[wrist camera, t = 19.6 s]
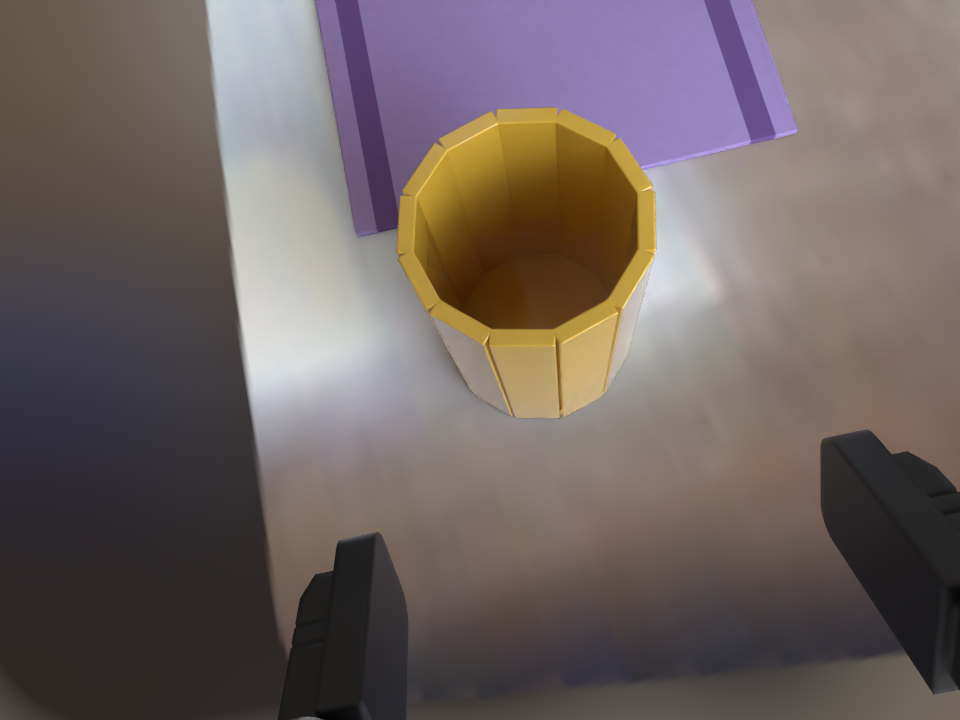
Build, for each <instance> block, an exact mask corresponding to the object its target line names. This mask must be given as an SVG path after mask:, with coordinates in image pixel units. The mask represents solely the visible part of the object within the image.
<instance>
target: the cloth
mask: <svg viewBox="0 0 960 720" xmlns="http://www.w3.org/2000/svg"><path fill="white" fill-rule="evenodd" d="M315 2H316V8H317V13H318V19H319V25H320V31H321V36H322V42H323V48H324V54H325V59H326V65H327V71H328V77H329V82H330V88H331V94H332V100H333V106H334V111H335V117H336V123H337V129H338V134H339V140H340V146H341V152H342V157H343V163H344V169H345V175H346V181H347V186H348V192H349V198H350V204H351V209H352V215H353V221H354V227H355V232H356V235H357V237H360V236H365V235H369V234H373V233H377V232H381V231H386V230H390V229H394V228H398V217H399V201H400V196H402V195H403V192H402V190H403V188H404V187H405V185H406V184H407V182H408V181H409V179H410V178H411V176H412V175H413V173H414V172H415V171H416V169H417V168H418V166H419V165H420V163H421V162H422V160H423V159H424V157H425V156H426V154H427V153H428V151H429V150H430V148H431V147H432V145H433V144H434V143H437V144H439V145H440V143H439V138H441V137H443V136H445V135H447V134H448V133H450V132H452V131H454V130H456V129H458V128H460V127H461V126H463V125H465V124H467V123H469V122H471V121H473V120H474V119H476V118H478V117H480V116H482V115H484V114H486V113H487V112H489V111H492V112H493V113H494V114H495V116H496V110H497V109H511V108H543V107H557V108H558V114H559V112H560V111H561V109H565V110H567V111H570V112H572V113H574V114H576V115H578V116H580V117H582V118H584V119H586V120H588V121H590V122H592V123H594V124H597V125H599V126H601V127H603V128H605V129H607V130H609V131H611V132H613V133H615V134H616V139H618V138H621V139H622V141H623V142H624V144H625V145H626V147H627V148H628V149H629V151H630V152H631V154H632V155H633V157H634V158H635V160H636V161H637V163H638V164H639V166H640V167H641V169H642V170H643V169H647V168H652V167H656V166H660V165H664V164H669V163H673V162H677V161H681V160H685V159H690V158H694V157H698V156H702V155H707V154H711V153H715V152H719V151H723V150H728V149H732V148H736V147H740V146H745V145H749V144H753V143H757V142H761V141H766V140H770V139H774V138H778V137H783V136H787V135H791V134H795V133H796V132H797V130H798V128H797V125H796V123H795V120H794V117H793V114H792V111H791V108H790V106H789V103H788V100H787V97H786V94H785V92H784V89H783V86H782V83H781V80H780V78H779V75H778V72H777V69H776V66H775V63H774V61H773V58H772V55H771V52H770V49H769V47H768V44H767V41H766V38H765V35H764V33H763V30H762V27H761V24H760V21H759V18H758V16H757V13H756V10H755V7H754V4H753V2H752V0H315Z"/></svg>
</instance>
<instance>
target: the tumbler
mask: <svg viewBox="0 0 960 720" xmlns="http://www.w3.org/2000/svg"><path fill="white" fill-rule="evenodd" d="M439 143H440V145H439V144H437V143H434V144H433V145H432V147H431V148H430V150H429V151H428V153H427V154H426V156H425V157H424V159H423V160H422V162H421V163H420V165H419V166H418V168H417V169H416V171H415V172H414V173H413V175H412V176H411V178H410V179H409V181H408V182H407V184H406V185H405V187H404V188H403V190H402V192H403V195H402V196H400V201H399V217H398V232H397V248H396V253H397V255H398V261H399V263H400V265H401V266H402V268H403V270H404V272H405V274H406V276H407V277H408V279H409V281H410V283H411V285H412V287H413V288H414V290H415V292H416V294H417V296H418V298H419V299H420V301H421V303H422V305H423V307H424V309H425V310H426V312H427V314H428V316H429V318H430V319H431V321H432V323H433V325H434V326H435V328H436V330H437V332H438V333H439V335H440V337H441V339H442V341H443V342H444V344H445V346H446V348H447V349H448V351H449V353H450V355H451V356H452V358H453V360H454V362H455V364H456V365H457V367H458V369H459V371H460V372H461V374H462V376H463V378H464V380H465V381H466V383H467V385H468V387H469V388H470V390H471V391H472V392H473V393H474V394H475V395H476V396H477V397H479V398H481V399H482V400H484V401H486V402H487V403H489V404H491V405H492V406H494V407H496V408H497V409H499V410H501V411H503V412H504V413H506V414H508V415H509V416H513V414H514V415H515V417H516V418H560V415H562V416H563V417H565V416H567V415H569V414H571V413H573V412H574V411H576V410H578V409H580V408H582V407H583V406H585V405H587V404H589V403H591V402H593V401H594V400H596V399H598V398H600V397H602V395H603V393H606V391H607V390H608V388H609V386H610V385H611V383H612V381H613V380H614V378H615V376H616V375H617V373H618V371H619V370H620V368H621V366H622V365H623V363H624V361H625V360H626V358H627V355H628V352H629V348H630V344H631V341H632V337H633V333H634V330H635V326H636V322H637V319H638V315H639V311H640V308H641V304H642V300H643V297H644V293H645V289H646V286H647V282H648V278H649V275H650V271H651V267H652V264H653V260H654V256H655V252H656V212H655V192H654V191H652V188H653V185H652V183H651V182H650V181H649V179H648V178H647V176H646V175H645V173H644V172H643V170H642V169H641V167H640V166H639V164H638V163H637V161H636V160H635V158H634V157H633V155H632V154H631V152H630V151H629V149H628V148H627V147H626V145H625V144H624V142H623V141H622V139H621V138H618V139H616V134H615V133H613V132H611V131H609V130H607V129H605V128H603V127H601V126H599V125H597V124H594V123H592V122H590V121H588V120H586V119H584V118H582V117H580V116H578V115H576V114H574V113H572V112H570V111H567V110H565V109H561V111H560V112H559V114H558V108H557V107H543V108H511V109H497V110H496V116H495V114H494V113H493V112H492V111H489V112H487V113H486V114H484V115H482V116H480V117H478V118H476V119H474V120H473V121H471V122H469V123H467V124H465V125H463V126H461V127H460V128H458V129H456V130H454V131H452V132H450V133H448V134H447V135H445V136H443V137H441V138H439Z"/></svg>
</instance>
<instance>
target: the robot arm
mask: <svg viewBox="0 0 960 720" xmlns="http://www.w3.org/2000/svg"><path fill="white" fill-rule="evenodd" d="M821 509H822V515H823V519H824V522H825V525H826V528H827V530H828V533H829V535H830V537H831V538H832V540H833V542H834V543H835V545H836V546H837V548H838V549H839V551H840V552H841V554H842V555H843V557H844V559H845V560H846V562H847V563H848V565H849V566H850V568H851V569H852V571H853V572H854V574H855V575H856V577H857V578H858V580H859V581H860V583H861V584H862V586H863V587H864V589H865V591H866V592H867V594H868V595H869V597H870V598H871V600H872V601H873V603H874V604H875V606H876V607H877V609H878V610H879V612H880V613H881V615H882V616H883V618H884V619H885V621H886V623H887V624H888V626H889V627H890V629H891V630H892V632H893V633H894V635H895V636H896V638H897V639H898V641H899V642H900V644H901V645H902V647H903V648H904V650H905V652H906V653H907V655H908V656H909V658H910V659H911V661H912V662H913V664H914V665H915V667H916V668H917V670H918V671H919V673H920V674H921V676H922V677H923V679H924V680H925V682H926V683H927V685H928V686H929V688H930V690H931V691H932V693H933V694H939V693H944V692H949V691H954V690H960V492H957V491H956V488H955V486H954V485H953V484H952V483H951V482H950V481H949V480H948V479H947V478H946V477H945V476H944V475H943V474H942V473H941V471H940V470H939V469H938V468H937V467H935V466H934V465H932V464H930V463H928V462H926V461H924V460H922V459H921V458H919V457H917V456H915V455H913V454H911V453H909V452H908V451H907V452H902V453H897V454H891V453H890V452H889V451H888V450H887V448H886V447H885V446H884V445H883V444H882V443H881V442H880V440H879V439H878V438H877V437H876V436H875V435H874V434H873V433H872V432H871V431H869V430H862V431H857V432H852V433H847V434H843V435H838V436H833V437H829V438H825V439H823V440H822V443H821ZM407 658H408V614H407V607H406V602H405V597H404V593H403V590H402V587H401V585H400V582H399V579H398V577H397V574H396V571H395V569H394V566H393V563H392V561H391V558H390V555H389V553H388V550H387V547H386V545H385V542H384V540H383V537H382V535H381V534H380V533H379V532H376V533H371V534H366V535H362V536H357V537H352V538H347V539H343V540H339V541H338V544H337V548H336V555H335V562H334V569H333V571H330V572H325V573H320V574H316V575H315V576H314V577H313V579H312V580H311V582H310V584H309V585H308V587H307V588H306V590H305V591H304V593H303V595H302V596H301V598H300V601H299V607H298V612H297V618H296V628H295V629H294V634H293V639H292V648H291V650H290V656H289V661H288V667H287V672H286V678H285V683H284V689H283V695H282V700H281V705H280V711H279V716H278V720H406V700H407Z"/></svg>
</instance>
